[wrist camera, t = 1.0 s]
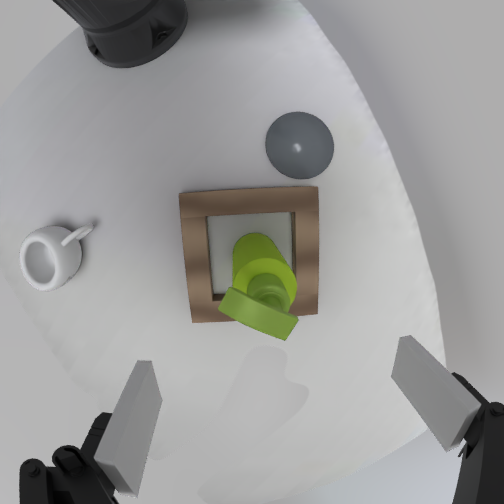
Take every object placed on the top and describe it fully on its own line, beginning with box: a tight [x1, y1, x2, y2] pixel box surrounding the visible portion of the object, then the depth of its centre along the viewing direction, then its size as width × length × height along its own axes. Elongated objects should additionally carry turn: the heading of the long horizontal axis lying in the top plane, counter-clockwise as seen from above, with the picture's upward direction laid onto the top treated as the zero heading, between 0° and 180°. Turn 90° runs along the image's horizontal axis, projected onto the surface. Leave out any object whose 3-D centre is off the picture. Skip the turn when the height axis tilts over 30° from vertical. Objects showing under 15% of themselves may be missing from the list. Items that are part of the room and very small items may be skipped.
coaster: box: [266, 112, 334, 179], centre depth 36 cm, size 9×9×1 cm
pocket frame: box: [179, 186, 319, 323], centre depth 38 cm, size 17×17×2 cm
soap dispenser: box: [218, 233, 298, 341], centre depth 29 cm, size 6×7×20 cm
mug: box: [19, 224, 93, 291], centre depth 33 cm, size 12×8×8 cm
